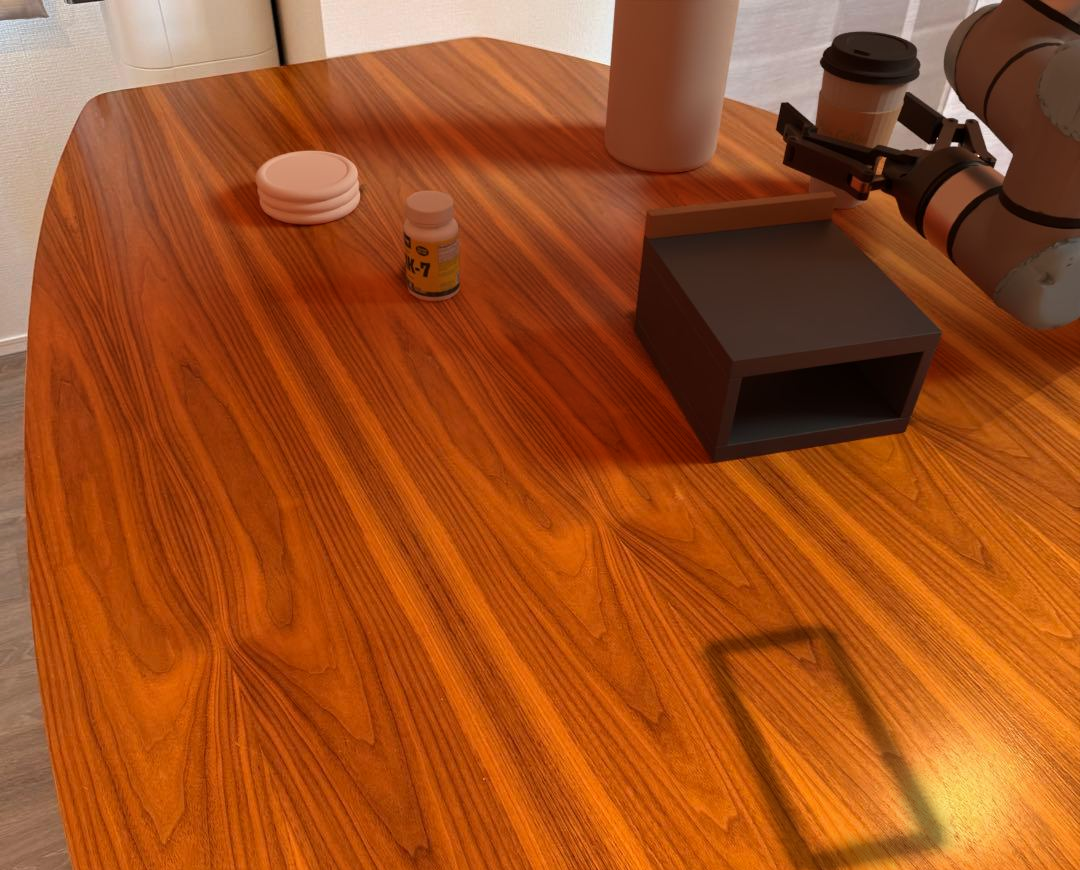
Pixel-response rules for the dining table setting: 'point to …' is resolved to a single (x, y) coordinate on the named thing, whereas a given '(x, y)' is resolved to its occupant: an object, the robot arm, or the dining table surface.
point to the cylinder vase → (668, 81)
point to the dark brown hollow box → (777, 327)
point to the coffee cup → (862, 93)
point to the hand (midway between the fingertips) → (842, 110)
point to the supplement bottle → (431, 246)
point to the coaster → (308, 187)
